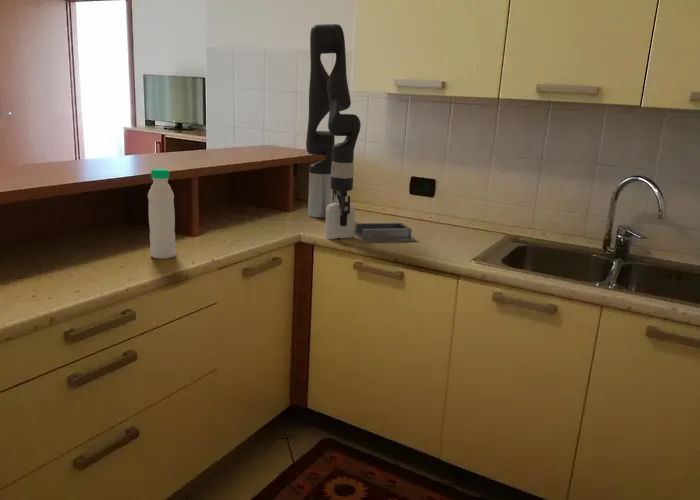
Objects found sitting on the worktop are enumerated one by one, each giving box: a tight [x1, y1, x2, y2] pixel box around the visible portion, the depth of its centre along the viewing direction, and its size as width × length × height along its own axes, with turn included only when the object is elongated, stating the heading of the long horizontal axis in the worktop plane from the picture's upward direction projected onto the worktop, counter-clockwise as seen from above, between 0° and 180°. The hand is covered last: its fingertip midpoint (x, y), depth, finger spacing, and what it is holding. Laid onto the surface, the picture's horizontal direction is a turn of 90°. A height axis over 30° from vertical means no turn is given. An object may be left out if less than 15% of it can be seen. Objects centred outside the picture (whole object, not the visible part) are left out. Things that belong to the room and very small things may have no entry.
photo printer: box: [324, 202, 356, 240], centre depth 198 cm, size 10×4×12 cm, turn 114°
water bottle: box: [147, 168, 177, 260], centre depth 165 cm, size 7×7×25 cm
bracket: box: [354, 222, 416, 243], centre depth 203 cm, size 14×18×4 cm
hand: (340, 223), depth 198 cm, fingers open, 8 cm apart
